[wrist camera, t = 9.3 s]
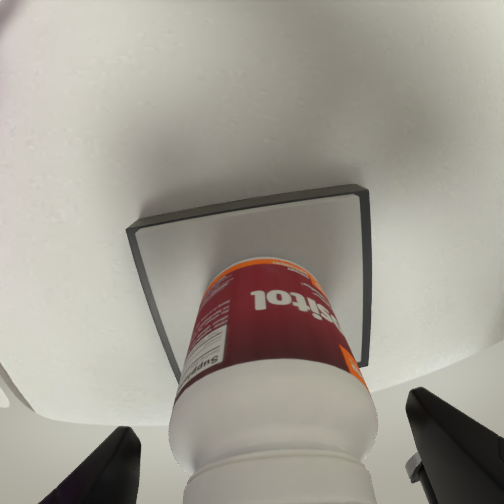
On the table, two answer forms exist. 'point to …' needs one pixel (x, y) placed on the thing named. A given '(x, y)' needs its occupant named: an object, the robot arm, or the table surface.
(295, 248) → the scale
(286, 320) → the pill bottle
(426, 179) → the table surface
